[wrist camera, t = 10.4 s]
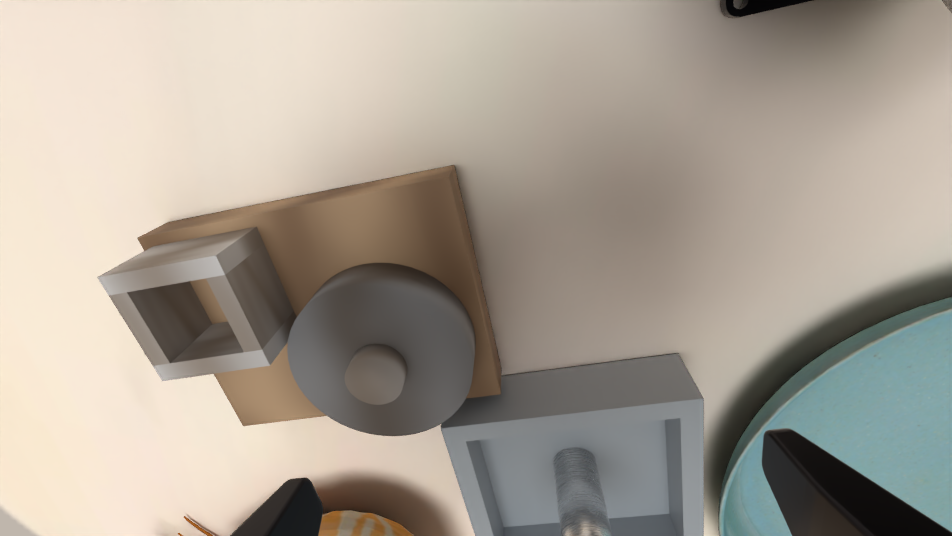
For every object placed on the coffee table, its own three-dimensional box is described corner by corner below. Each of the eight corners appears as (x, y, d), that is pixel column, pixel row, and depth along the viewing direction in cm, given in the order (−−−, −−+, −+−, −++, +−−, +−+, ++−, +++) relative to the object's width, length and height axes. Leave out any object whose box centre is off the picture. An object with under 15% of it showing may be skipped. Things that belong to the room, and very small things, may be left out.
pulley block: (454, 165, 19) (438, 199, 15) (501, 368, 24) (500, 441, 20) (168, 222, 21) (78, 267, 17) (261, 400, 26) (210, 473, 22)
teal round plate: (1228, 492, 25) (1326, 552, 22) (791, 620, 32) (820, 678, 30) (1170, 135, 18) (1306, 152, 15) (618, 407, 25) (634, 456, 22)
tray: (678, 353, 23) (703, 398, 20) (682, 511, 28) (703, 566, 25) (448, 382, 25) (440, 428, 22) (491, 526, 30) (489, 579, 27)
